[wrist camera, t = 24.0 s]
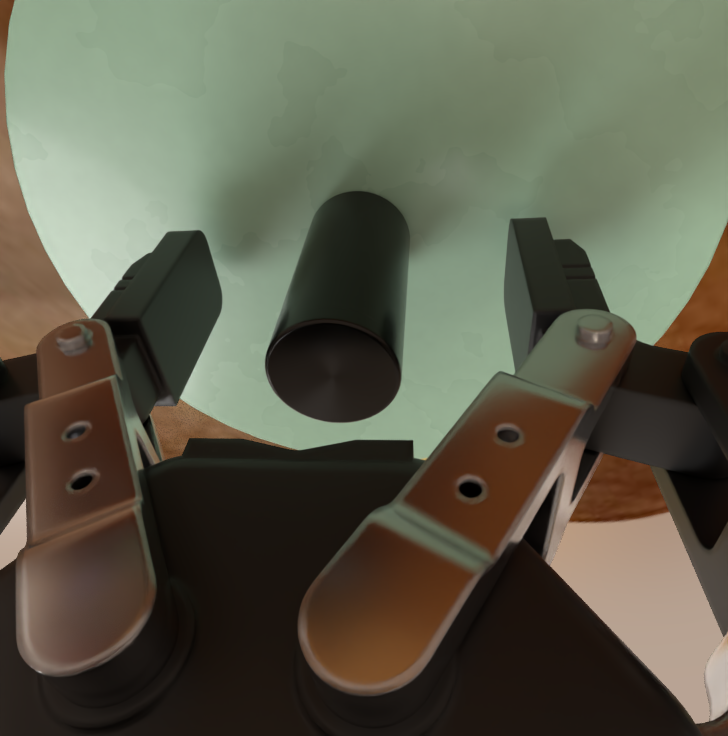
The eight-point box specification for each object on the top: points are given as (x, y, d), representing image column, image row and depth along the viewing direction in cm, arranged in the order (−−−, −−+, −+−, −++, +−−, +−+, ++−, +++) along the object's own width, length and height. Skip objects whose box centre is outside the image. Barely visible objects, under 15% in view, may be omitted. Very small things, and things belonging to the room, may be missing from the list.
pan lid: (161, 435, 21) (85, 595, 16) (-134, -188, 10) (-594, -237, 6) (635, 437, 19) (701, 621, 14) (883, -347, 8) (1473, -633, 4)
